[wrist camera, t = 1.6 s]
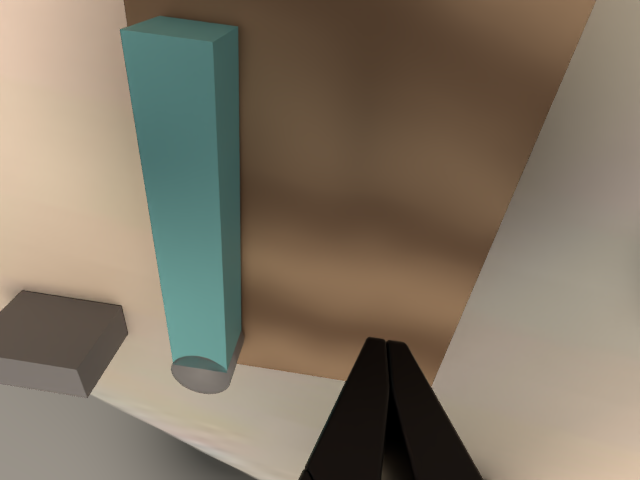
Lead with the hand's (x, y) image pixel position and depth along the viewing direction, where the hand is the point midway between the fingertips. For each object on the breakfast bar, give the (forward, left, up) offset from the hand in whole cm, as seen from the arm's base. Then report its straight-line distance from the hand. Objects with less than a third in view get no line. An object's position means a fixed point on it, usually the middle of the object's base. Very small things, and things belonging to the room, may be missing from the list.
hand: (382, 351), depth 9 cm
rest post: (-13, +16, -10) cm, 23 cm away
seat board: (-2, +2, -10) cm, 11 cm away
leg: (-3, +7, -8) cm, 11 cm away
